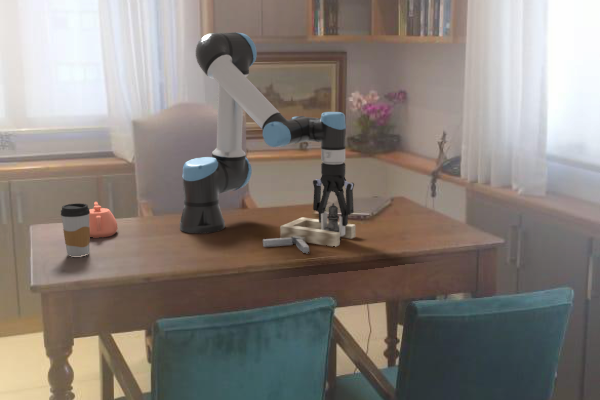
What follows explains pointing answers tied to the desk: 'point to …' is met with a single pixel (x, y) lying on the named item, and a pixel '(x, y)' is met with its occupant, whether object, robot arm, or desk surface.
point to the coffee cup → (76, 228)
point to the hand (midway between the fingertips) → (333, 233)
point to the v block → (288, 242)
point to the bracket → (315, 232)
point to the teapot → (101, 222)
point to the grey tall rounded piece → (333, 219)
